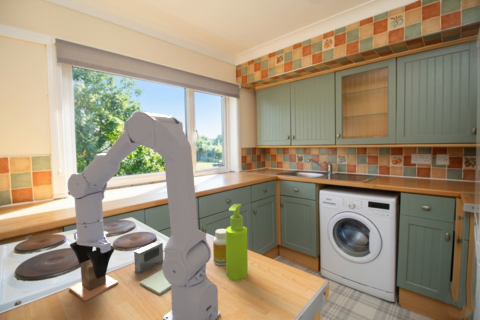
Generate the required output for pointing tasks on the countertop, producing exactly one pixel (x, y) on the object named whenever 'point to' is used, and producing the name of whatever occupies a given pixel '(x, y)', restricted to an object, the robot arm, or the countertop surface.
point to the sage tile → (156, 283)
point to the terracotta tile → (87, 294)
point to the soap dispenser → (236, 246)
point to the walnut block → (90, 276)
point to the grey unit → (148, 256)
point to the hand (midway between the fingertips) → (93, 271)
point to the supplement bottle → (219, 247)
